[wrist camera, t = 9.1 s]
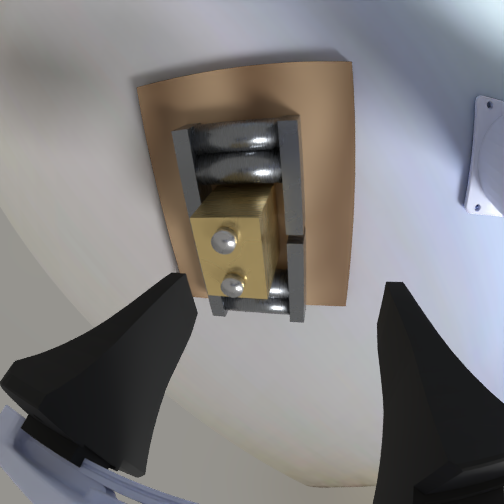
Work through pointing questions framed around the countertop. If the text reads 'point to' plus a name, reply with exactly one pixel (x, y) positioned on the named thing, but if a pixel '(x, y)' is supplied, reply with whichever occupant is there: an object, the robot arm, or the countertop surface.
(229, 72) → the chain board
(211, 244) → the brass block with studs
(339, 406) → the countertop surface
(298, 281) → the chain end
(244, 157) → the chain end
